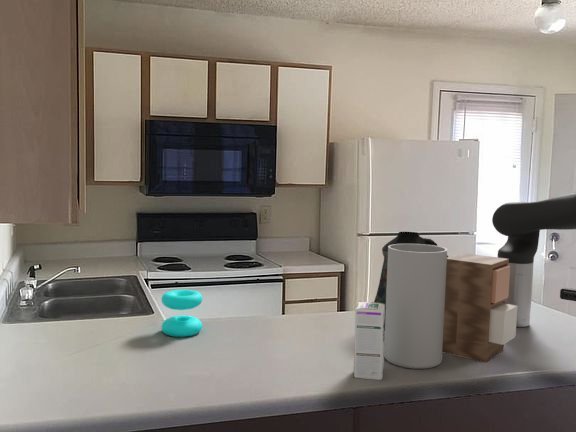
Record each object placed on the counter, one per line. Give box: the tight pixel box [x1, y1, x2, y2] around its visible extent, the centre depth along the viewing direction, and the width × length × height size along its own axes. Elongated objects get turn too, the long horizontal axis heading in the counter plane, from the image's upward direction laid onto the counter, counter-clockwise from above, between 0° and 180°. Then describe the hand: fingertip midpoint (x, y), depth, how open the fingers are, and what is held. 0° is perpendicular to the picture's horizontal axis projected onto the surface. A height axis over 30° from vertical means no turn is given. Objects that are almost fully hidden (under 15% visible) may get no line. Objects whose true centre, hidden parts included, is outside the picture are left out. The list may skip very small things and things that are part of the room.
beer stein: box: [373, 231, 449, 332], centre depth 155 cm, size 16×19×25 cm
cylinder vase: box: [384, 244, 448, 370], centre depth 128 cm, size 12×12×25 cm
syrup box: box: [353, 301, 385, 381], centre depth 119 cm, size 6×6×14 cm
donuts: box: [161, 289, 203, 338], centre depth 145 cm, size 10×10×10 cm
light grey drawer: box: [489, 303, 517, 345], centre depth 131 cm, size 6×8×7 cm
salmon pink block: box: [491, 265, 510, 303], centre depth 132 cm, size 6×8×7 cm
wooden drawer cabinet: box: [442, 252, 509, 363], centre depth 134 cm, size 11×11×22 cm
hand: (561, 293), depth 122 cm, fingers closed
